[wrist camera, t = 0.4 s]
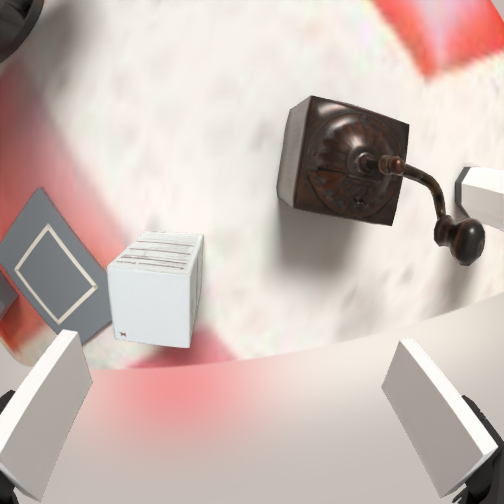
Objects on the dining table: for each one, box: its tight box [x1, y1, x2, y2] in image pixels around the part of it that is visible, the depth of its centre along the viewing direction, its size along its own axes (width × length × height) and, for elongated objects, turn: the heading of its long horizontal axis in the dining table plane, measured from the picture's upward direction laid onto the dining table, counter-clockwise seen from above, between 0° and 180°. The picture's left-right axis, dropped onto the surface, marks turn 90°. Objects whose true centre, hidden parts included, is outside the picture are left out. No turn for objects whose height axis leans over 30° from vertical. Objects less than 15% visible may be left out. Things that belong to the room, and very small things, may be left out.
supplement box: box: [107, 230, 204, 348], centre depth 29 cm, size 7×7×13 cm
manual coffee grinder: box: [277, 96, 485, 266], centre depth 24 cm, size 16×11×18 cm
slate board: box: [0, 187, 112, 344], centre depth 34 cm, size 20×15×1 cm
